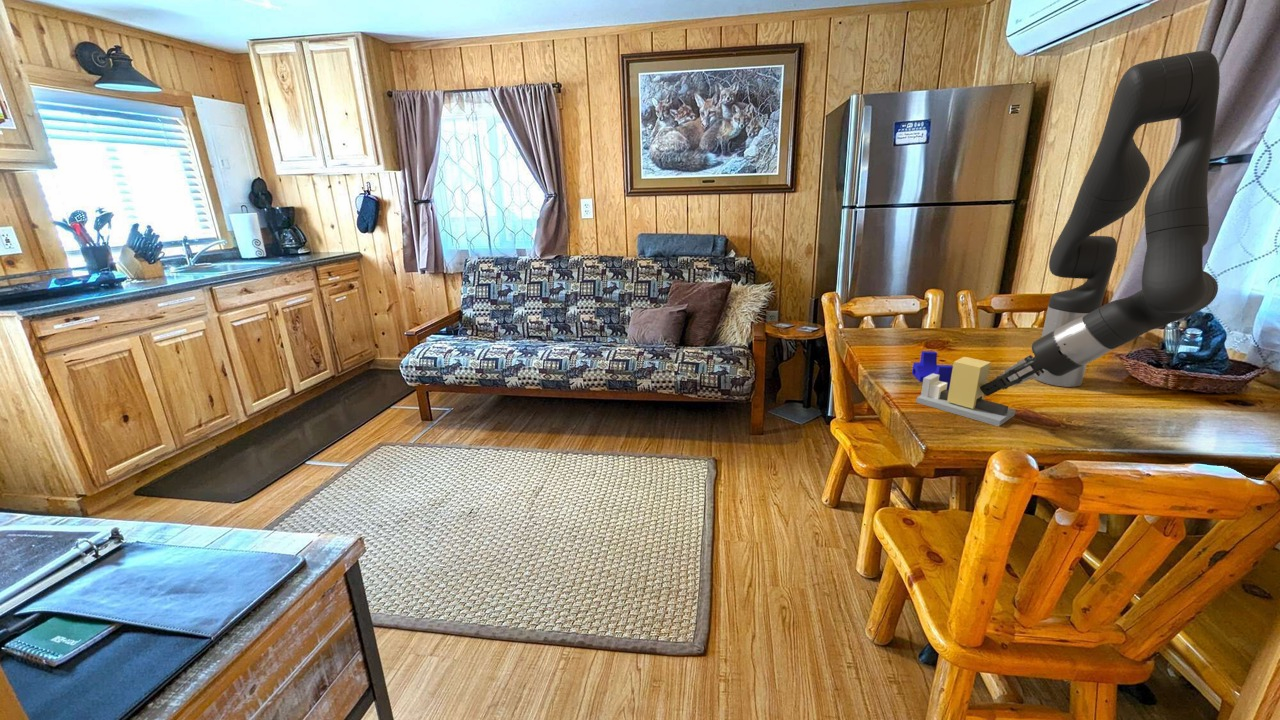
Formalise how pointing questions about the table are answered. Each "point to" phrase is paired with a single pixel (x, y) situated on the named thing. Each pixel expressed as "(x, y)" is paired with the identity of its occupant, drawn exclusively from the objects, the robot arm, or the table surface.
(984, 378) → the pale yellow block
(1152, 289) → the robot arm
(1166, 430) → the table surface
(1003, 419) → the comb board
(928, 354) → the blue stepped block
